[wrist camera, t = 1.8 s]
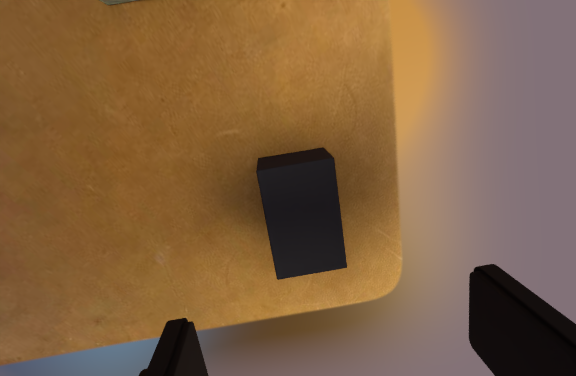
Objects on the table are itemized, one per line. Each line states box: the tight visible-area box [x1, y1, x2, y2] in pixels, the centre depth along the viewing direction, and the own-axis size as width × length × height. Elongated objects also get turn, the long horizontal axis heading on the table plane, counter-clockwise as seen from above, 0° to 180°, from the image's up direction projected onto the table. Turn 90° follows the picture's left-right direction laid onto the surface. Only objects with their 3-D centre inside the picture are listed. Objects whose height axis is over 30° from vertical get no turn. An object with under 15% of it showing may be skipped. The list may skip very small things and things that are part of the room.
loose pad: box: [256, 148, 347, 280], centre depth 24 cm, size 8×5×4 cm, turn 9°
